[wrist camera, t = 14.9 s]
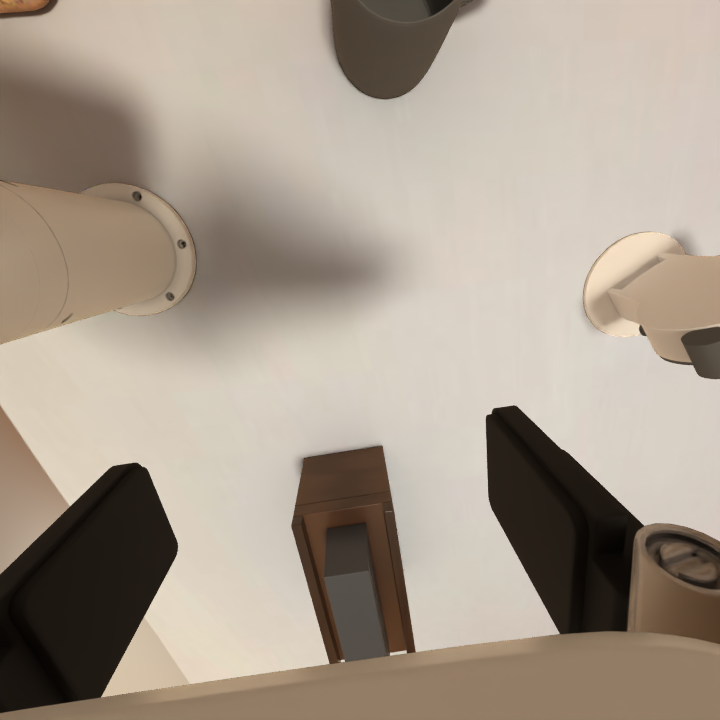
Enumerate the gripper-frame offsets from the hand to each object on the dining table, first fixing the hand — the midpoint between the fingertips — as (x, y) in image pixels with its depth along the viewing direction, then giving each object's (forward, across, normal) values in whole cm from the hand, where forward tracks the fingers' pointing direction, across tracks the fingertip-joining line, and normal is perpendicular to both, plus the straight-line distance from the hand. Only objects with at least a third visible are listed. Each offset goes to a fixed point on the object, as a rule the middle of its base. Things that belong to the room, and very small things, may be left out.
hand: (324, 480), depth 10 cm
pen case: (+20, +3, +30) cm, 36 cm away
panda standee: (+30, -32, +4) cm, 44 cm away
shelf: (+30, +3, +30) cm, 43 cm away
